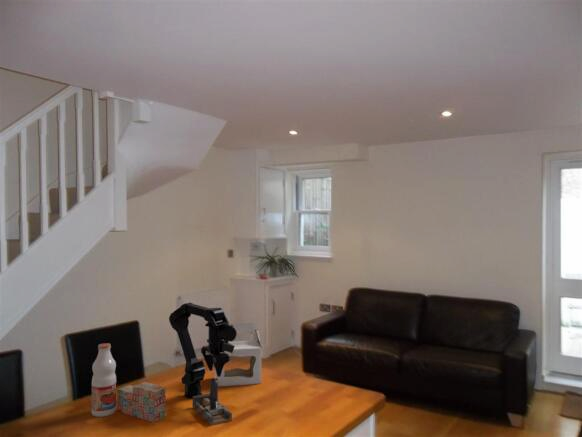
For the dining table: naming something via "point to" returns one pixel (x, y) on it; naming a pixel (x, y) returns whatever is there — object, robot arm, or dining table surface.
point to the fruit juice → (103, 383)
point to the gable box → (241, 350)
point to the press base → (200, 405)
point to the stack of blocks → (143, 401)
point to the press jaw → (214, 399)
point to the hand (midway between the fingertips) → (214, 373)
